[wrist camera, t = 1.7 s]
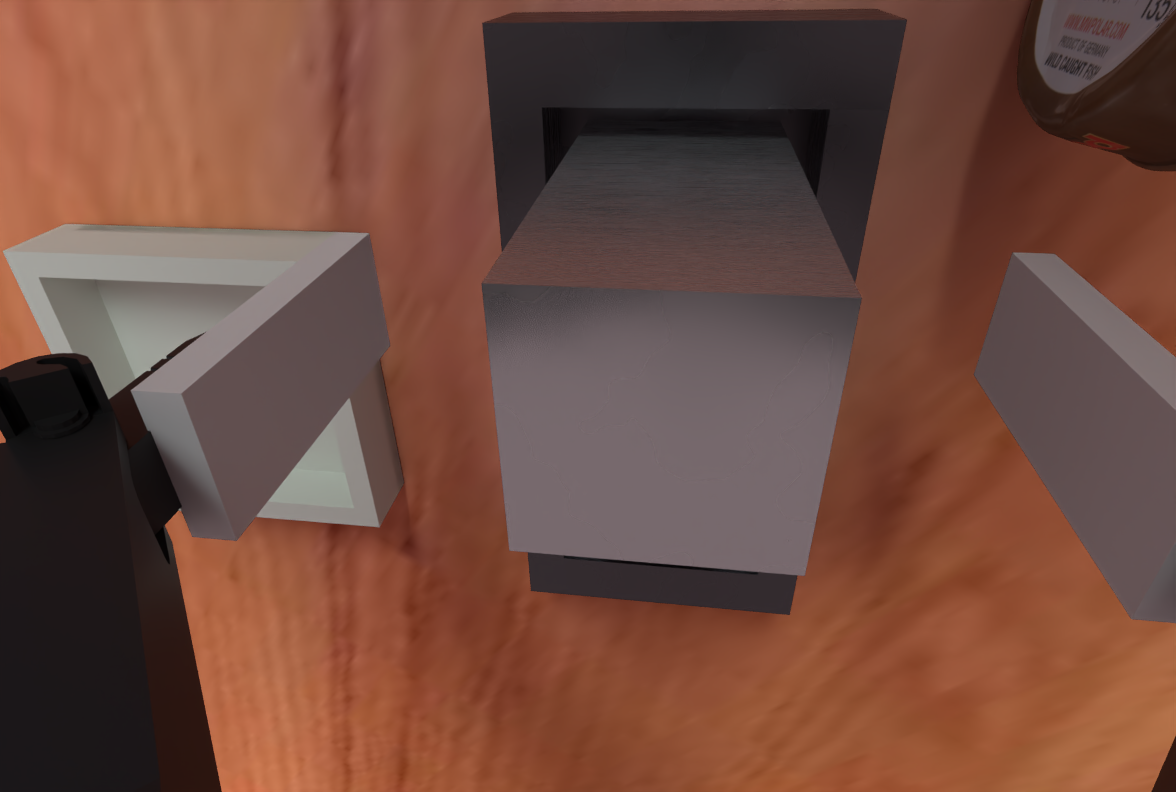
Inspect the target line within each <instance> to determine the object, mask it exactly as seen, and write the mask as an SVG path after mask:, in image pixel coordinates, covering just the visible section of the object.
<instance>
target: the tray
mask: <svg viewBox="0 0 1176 792" xmlns="http://www.w3.org/2000/svg"><path fill="white" fill-rule="evenodd" d="M334 233H335V232H318V231H285V230H251V229H218V228H185V227H152V226H119V225H86V224H64V225H62V226H59V227H57V228H55V229H53V230H50V231H48V232H46V233H43V234H41V235H39V236H36V237H34V238H32V239H30V240H27V241H25V242H23V243H20V244H18V245H16V246H13V247H11V248H9V249H6V250H4V251H3V253H4V255H5V257H6V259H7V261H8V263H9V265H10V267H11V269H12V272H13V274H14V276H15V278H16V280H17V282H18V284H19V286H20V288H21V290H22V292H23V295H24V297H25V299H26V301H27V303H28V305H29V307H30V309H31V311H32V313H33V315H34V317H35V320H36V322H37V324H38V326H39V328H40V330H41V332H42V334H43V336H44V338H45V340H46V343H47V345H48V347H49V349H50V351H51V353H52V354H56V353H77V354H81V355H85V356H88V358H89V359H90V360H91V362H92V363H93V365H94V368H95V370H96V372H97V374H98V377H99V379H100V381H101V383H102V386H103V388H104V390H105V392H106V395H107V397H108V399H110V398H111V397H113V396H114V395H115V394H116V393H118V392H119V391H120V390H122V389H123V388H124V387H126V386H127V385H128V384H130V383H131V382H132V381H134V380H135V379H136V378H138V377H139V376H140V375H142V374H143V373H144V372H146V371H150V370H151V367H152V366H153V365H155V364H156V363H157V362H159V361H160V360H161V359H166V356H167V355H168V354H169V353H171V352H172V351H173V350H175V349H176V348H177V347H178V346H180V345H181V344H182V343H184V342H185V341H187V340H189V339H191V338H194V337H196V336H198V335H200V334H203V333H205V332H207V331H208V330H210V329H211V328H212V327H214V326H215V325H216V324H217V323H219V322H220V321H221V320H223V319H224V318H225V317H227V316H228V315H229V314H230V313H232V312H233V311H234V310H236V309H237V308H238V307H239V306H241V305H242V304H243V303H245V302H246V301H247V300H249V299H250V298H251V297H252V296H254V295H255V294H256V293H258V292H259V291H260V290H262V289H263V288H264V287H265V286H267V285H268V284H269V283H271V282H272V281H273V280H274V279H276V278H277V277H278V276H280V275H281V274H282V273H284V272H285V271H286V270H287V269H289V268H290V267H291V266H293V265H294V264H295V263H297V262H298V261H299V260H300V259H302V258H303V257H304V256H306V255H307V254H308V253H309V252H311V251H312V250H313V249H315V248H316V247H317V246H319V245H320V244H321V243H322V242H324V241H325V240H326V239H328V238H329V237H330V236H332V235H333V234H334ZM347 233H351V232H347ZM403 484H404V480H403V475H402V470H401V465H400V460H399V455H398V450H397V445H396V440H395V434H394V429H393V424H392V419H391V414H390V409H389V404H388V399H387V394H386V389H385V384H384V379H383V374H382V369H381V364H380V359H379V360H378V362H377V363H376V364H375V366H374V367H373V368H372V369H371V371H370V372H369V373H368V374H367V376H366V377H365V378H364V380H363V381H362V382H361V383H360V385H359V386H358V387H357V388H356V390H355V391H354V392H353V394H352V395H351V396H350V397H349V399H348V400H347V401H346V402H345V404H344V405H343V406H342V408H341V409H340V410H339V411H338V413H337V414H336V415H335V416H334V418H333V419H332V420H331V422H330V423H329V424H328V425H327V427H326V428H325V429H324V430H323V432H322V433H321V434H320V436H319V437H318V438H317V439H316V441H315V442H314V443H313V444H312V446H311V447H310V448H309V450H308V451H307V452H306V453H305V455H304V456H303V457H302V458H301V460H300V461H299V462H298V464H297V465H296V466H295V467H294V469H293V470H292V471H291V472H290V474H289V475H288V476H287V478H286V479H285V480H284V481H283V483H282V484H281V485H280V486H279V488H278V489H277V490H276V492H275V493H274V494H273V495H272V497H271V498H270V499H269V500H268V502H267V503H266V504H265V506H264V507H263V508H262V509H261V511H260V512H259V513H258V514H257V516H256V517H263V518H275V519H287V520H299V521H311V522H323V523H335V524H347V525H359V526H371V527H380V526H381V524H382V522H383V520H384V518H385V517H386V515H387V513H388V511H389V509H390V508H391V506H392V504H393V502H394V500H395V499H396V497H397V495H398V493H399V491H400V490H401V488H402V486H403ZM179 511H181V509H179Z"/></svg>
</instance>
